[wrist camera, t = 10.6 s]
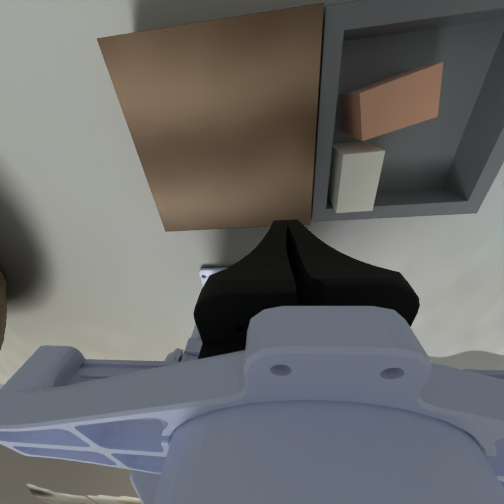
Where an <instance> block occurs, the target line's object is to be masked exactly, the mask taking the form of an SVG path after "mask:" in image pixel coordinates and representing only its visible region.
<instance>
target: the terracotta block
mask: <svg viewBox="0 0 504 504" xmlns="http://www.w3.org/2000/svg"><path fill="white" fill-rule="evenodd" d="M442 70H443V62H441V63H436V64H432V65H427V66H422V67H418V68H413V69H409V70H404V71H402V72H399V73H396V74H394V75H391V76H388V77H386V78H383V79H380V80H378V81H375V82H373V83H370V84H367V85H365V86H362V87H359V88H357V89H354V90H351V91H349V92H346V93H344V94H341V102H342V112H343V123H344V133H346V134H348V135H350V136H352V137H354V138H357V139H359V140H361V141H364V140H367V139H370V138H374V137H377V136H380V135H383V134H386V133H389V132H392V131H395V130H398V129H401V128H404V127H407V126H411V125H414V124H417V123H420V122H423V121H426V120H429V119H432V118H435V117H438V108H439V99H440V89H441V80H442Z"/></svg>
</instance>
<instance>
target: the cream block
mask: <svg viewBox="0 0 504 504" xmlns="http://www.w3.org/2000/svg"><path fill="white" fill-rule="evenodd" d="M384 155H385V150H383V149H380V148H378V147H376V146H374V145H371V144H369V143H367V142H365V141H356V142H346V143H337V144H332V154H331V164H330V174H329V183H328V193H327V198H328V199H329V201H330V203H331V205H332V206H333V208H334V210H335V212H336V213H346V212H361V211H373V206H374V201H375V197H376V192H377V187H378V183H379V178H380V173H381V169H382V164H383V159H384Z"/></svg>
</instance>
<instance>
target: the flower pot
mask: <svg viewBox="0 0 504 504" xmlns="http://www.w3.org/2000/svg"><path fill="white" fill-rule="evenodd" d="M6 289H7V284H6V280H5V278H4V275H3V273H2V272H1V270H0V350H1V346H2V344H3V341H4V334H5V328H6V318H7V315H6V314H7V301H6Z"/></svg>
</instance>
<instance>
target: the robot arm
mask: <svg viewBox="0 0 504 504" xmlns="http://www.w3.org/2000/svg"><path fill="white" fill-rule="evenodd" d="M199 275H200V279H201V282H202V285H203V288H202V290H201V292H200V295H199V298H198V301H197V303H196V306H195V310H194V319H195V323H196V324H195V327H194V330H193V333H192V336H191V338H189V340H188V343H187V346H186V348H185V351H184V354H183V350H182V349H179V348H177V349H176V350H175V351H174V352H172V353H170V354H168V356H167V357H166V359H165V361H132V360H94V359H85V358H84V356H83V355H82V353H81V352H80V351H79V350H77V349H76V348H73V347H70V346H40V347H39V349H38V350H37V351H36V352H35V353H34V354H33V355H32V356H31V357H30V358H29V359H28V360H27V361H26V362H25V363H24V364H23V366H22V367H21V368H20V369H19V370H18V371H17V372H16V373H15V374H14V375H13V376H12V377H11V378H10V379H9V380H8V382H7V383H6V384H5V385H4V386H3V387H2V388H1V389H0V444H2V445H4V446H6V447H8V448H10V449H12V450H14V451H16V452H18V453H20V454H23V455H25V456H35V457H46V458H56V459H64V460H72V461H79V462H86V463H92V464H99V465H106V466H112V467H118V468H124V469H131V470H132V471H131V474H130V479H131V482H132V484H133V487H134V488H135V490H136V492H137V494H138V496H139V498H140V500H141V501H142V503H143V504H504V370H471V369H458V368H453V367H450V366H445V365H441V364H437V363H433V362H431V360H430V359H429V357H428V355H427V354H426V352H425V350H424V349H423V347H422V346H421V344H420V342H419V341H418V339H417V337H416V336H415V334H414V333H413V331H412V329H411V328H410V327H411V325H412V323H413V321H414V319H415V317H416V315H417V313H418V309H419V306H420V304H419V298H418V296H417V295H416V293H415V292H414V290H413V289H412V287H411V286H410V285H409V283H408V282H407V281H406V279H405V278H404V277H403V276H402V275H401V274H400V272H396V271H392V270H388V269H384V268H380V267H376V266H373V265H370V264H367V263H364V262H361V261H359V260H356V259H354V258H351V257H349V256H347V255H345V254H343V253H341V252H339V251H337V250H335V249H333V248H332V247H330V246H328V245H327V244H325V243H324V242H322V241H321V240H320V239H318V238H317V237H316V236H315V235H313V234H312V233H311V232H310V231H309V230H308V229H307V228H306V227H305V226H304V225H303V224H302V223H301V222H300V221H299V220H298V219H293V220H274V221H273V222H272V225H271V227H270V229H269V231H268V232H267V234H266V236H265V237H264V238H263V240H262V241H261V242H260V243H259V245H258V246H257V247H256V248H255V249H254V250H253V251H252V252H251V253H250V254H248V255H247V256H246V257H244V258H243V259H242V260H240V261H239V262H237V263H235V264H234V265H232V266H230V267H225V268H201V269H200V271H199ZM203 275H205V276H203ZM180 361H181V362H180Z"/></svg>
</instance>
